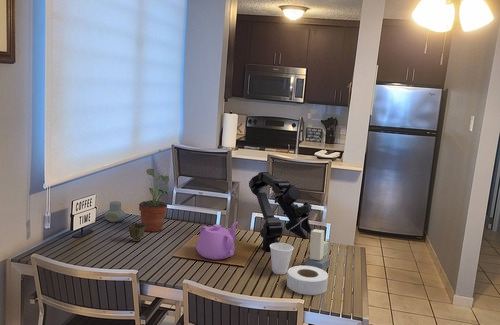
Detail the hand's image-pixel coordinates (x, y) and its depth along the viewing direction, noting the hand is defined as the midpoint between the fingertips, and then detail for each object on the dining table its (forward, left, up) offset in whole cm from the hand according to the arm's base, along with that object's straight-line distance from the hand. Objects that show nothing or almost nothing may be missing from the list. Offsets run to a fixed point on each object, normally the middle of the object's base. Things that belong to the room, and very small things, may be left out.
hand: (308, 236), depth 193 cm
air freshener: (-63, +86, -13) cm, 107 cm away
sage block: (+14, +8, -13) cm, 20 cm away
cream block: (+2, -4, -9) cm, 10 cm away
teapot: (-31, +24, -13) cm, 41 cm away
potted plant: (-48, +66, -13) cm, 82 cm away
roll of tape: (-14, -19, -13) cm, 26 cm away
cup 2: (-16, -3, -13) cm, 21 cm away
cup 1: (-61, +51, -13) cm, 80 cm away
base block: (+3, -4, -13) cm, 14 cm away
